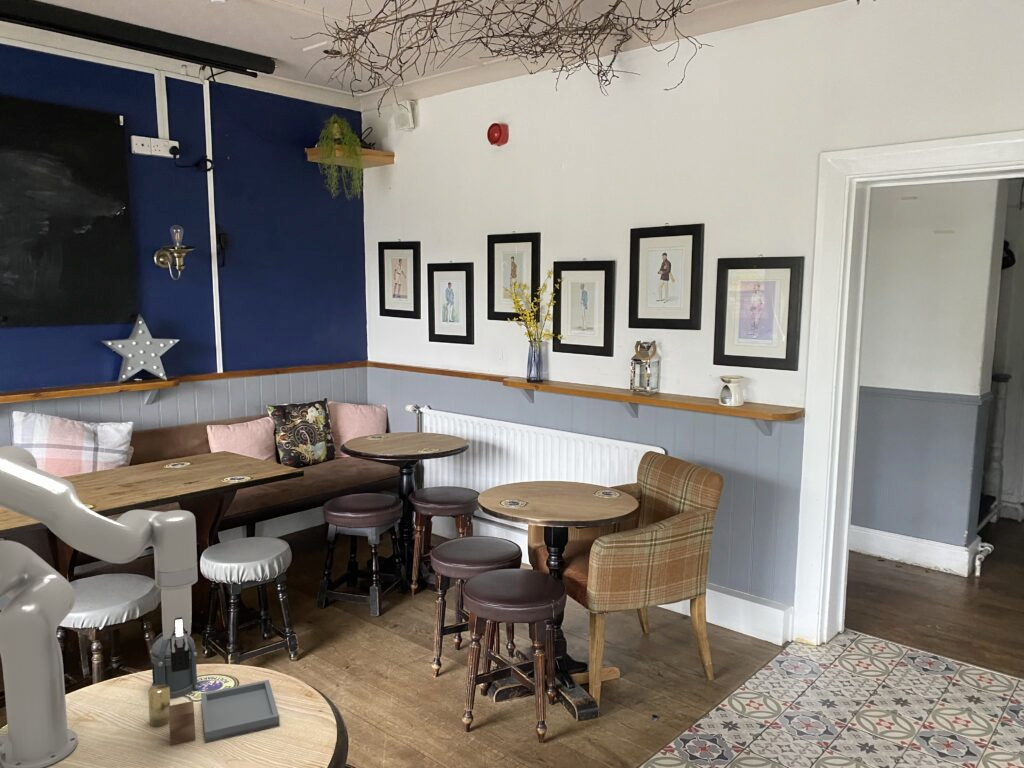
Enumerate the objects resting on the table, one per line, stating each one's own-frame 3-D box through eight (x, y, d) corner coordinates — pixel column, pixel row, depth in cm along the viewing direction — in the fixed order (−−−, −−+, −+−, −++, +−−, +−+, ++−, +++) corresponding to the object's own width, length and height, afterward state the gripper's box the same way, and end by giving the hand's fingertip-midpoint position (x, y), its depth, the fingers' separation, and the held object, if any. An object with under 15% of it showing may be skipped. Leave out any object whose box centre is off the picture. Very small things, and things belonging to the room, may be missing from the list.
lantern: (209, 677, 173) (204, 551, 169) (185, 702, 162) (178, 568, 159) (165, 675, 174) (159, 550, 170) (138, 699, 163) (131, 566, 160)
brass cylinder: (149, 728, 152) (147, 696, 151) (149, 718, 156) (148, 686, 155) (171, 724, 154) (169, 691, 153) (171, 714, 158) (169, 682, 157)
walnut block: (170, 746, 146) (168, 717, 146) (170, 734, 150) (168, 706, 150) (195, 740, 148) (194, 712, 148) (194, 728, 152) (193, 700, 152)
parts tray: (205, 742, 147) (204, 732, 147) (201, 703, 162) (200, 693, 162) (279, 726, 153) (279, 715, 153) (269, 689, 168) (268, 679, 167)
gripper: (155, 563, 152) (158, 644, 154) (155, 594, 136) (159, 683, 138) (195, 558, 155) (198, 637, 157) (199, 587, 140) (203, 675, 142)
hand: (179, 658), depth 148 cm, fingers open, 9 cm apart
